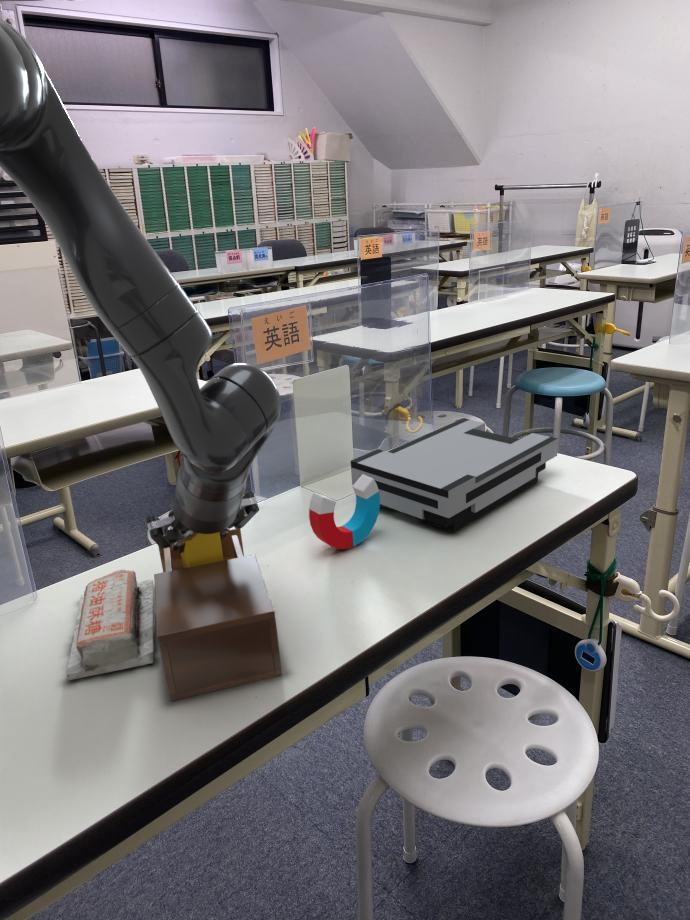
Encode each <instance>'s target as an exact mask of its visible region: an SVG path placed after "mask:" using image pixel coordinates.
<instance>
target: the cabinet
mask: <svg viewBox="0 0 690 920" xmlns="http://www.w3.org/2000/svg"><path fill="white" fill-rule="evenodd" d="M153 578H154V579H153V583H154V590H155V621H156V636H157V641H158V646H159V653H160V657H161V662H162V667H163V672H164V677H165V682H166V687H167V693H168V698H169V702H174V701H178V700H181V699H187V698H191V697H194V696H199V695H202V694H203V695H204V694H207V693H211V692H215V691H219V690H224V689H227V688H232V687H236V686H240V685H244V684H250V683H253V682H257V681H262V680H265V679H269V678H274V677H278V676H282V675H283V670H282V669H283V668H282V661H281V653H280V643H279V635H278V629H277V620H276V619H277V618H276V612H275V609H274V606H273V603H272V599H271V597H270V594H269V591H268V588H267V586H266V582H265V580H264V576H263V574H262V570H261V568H260V565H259V562H258V559H257V557H256V554H251V555H246V556H245V555H244V557H240V558H234V559H229V560H224V561H219V562H214V563H209V564H204V565H199V566H194V567H188V568H183V569H178V570H173V571H168V572H163V571H162V572H158V573H154V574H153Z"/></svg>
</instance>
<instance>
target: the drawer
mask: <svg viewBox="0 0 690 920" xmlns="http://www.w3.org/2000/svg"><path fill="white" fill-rule="evenodd" d="M241 529H242V528H241ZM241 529H235V527H232V528H230V532H229V533H227V535H226V537H225V538H223V539H222V542H221V546H222V553H223V560H229V559H234V558H240V557H245V553H244V545H243V540H242V539H243V538H242V531H241ZM157 547H158V552H159V557H160V563H161V568H162V569H161V570H162V573H163V572H168V571H173V570H178V569H183V564H182V558H181V553H179V554H178V551H173V549H172V546H171V544H170V546H169V547H167V548H160V547H159V546H158V545H157Z"/></svg>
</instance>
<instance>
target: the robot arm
mask: <svg viewBox="0 0 690 920" xmlns="http://www.w3.org/2000/svg"><path fill="white" fill-rule="evenodd" d="M0 169H1V170H3V172H4V173H5V174H6V175H7V176H8V177H9V178H10V179H11V180H12V181H13V182H14V183H15V184H16V186H17V187H18V188H19V189H20V190H21V191H22V193H23V194H24V195H25V196H26V198H27V199H28V200H29V202H30V203H31V205H33V207H34V208H35V210H36V211H37V212H38V214H39V215H40V217H41V219H42V220H43V221H44V223H45V224H46V226H47V228H48V229H49V231H50V233H51V234H52V237H53V238H54V240H55V241H56V243H57V245H58V247H59V249H60V251H61V253H62V255H63V257H64V259H65V261H66V263H67V265H68V266H69V269H70V271H71V273H72V275H73V276H74V278H75V281H76V282H77V284H78V286H79V288H80V289H81V291H82V293H83V295H84V296H85V298H86V300H87V301H88V303H89V304H90V306H91V307H92V309H93V311H94V312H95V313H96V315H97V316H98V318H99V319H100V320H101V322H102V323H103V325H104V326H105V327H106V328H107V329H108V331H109V332H110V333H111V335H112V336H113V337H114V339H115V340H116V341H117V342H118V343H119V344H120V345H121V347H122V349H123V350H124V351H125V352H126V353H127V355H128V356H129V357H130V358H131V359H132V361H133V362H134V364H135V365H136V366H137V367H138V369H139V370H140V373H141V374H142V376H143V378H144V380H145V382H146V383H147V386H148V388H149V390H150V392H151V394H152V396H153V398H154V400H155V403H156V404H157V408H158V410H159V412H160V414H161V416H162V419H163V421H164V424H165V426H166V428H167V431H168V433H169V434H170V437H171V439H172V441H173V443H174V445H175V447H176V448H177V449H178V451H179V452H180V454H181V455H182V457H181V464H180V466H179V468H178V472H177V475H176V481H175V482H176V483H175V488H174V489H175V490H174V496H173V507H172V509H171V510H170V511H169V512H168V515H167V516H166V517H161V516H158V517H157V516H156V515H149V516H147V517H145V522H146V525H147V529H148V533H149V536H150V539H151V540H153V542H154V543H155V544H156V545H157V547H158V546H159V547H160V548H167V547H169V546H170V544H171V546H172V549H173V551H178V554H179V553H183V552H184V547H185V542H186V541H191V540H192V539H193V538H194V537H195V536H196V535H197V534H198V533H200V534H214V533H217V532H219V533H220V539H221V542H222V539H223V538H225V537H226V535H227V533H229V532H230V528H232V527H235V529H242V528H244V527H245V526H246V525H247V524H248V523H249V522H250V521H251V520H252V519H253V517H255V516H256V514H257V513H259V511H260V507H259V504H258V501H257V499H256V495H255V492H254V491H247V492H246V490H247V489H246V488H247V480H248V477H249V474H250V472H251V467H252V464H253V462H254V461H255V459H256V457H257V455H258V454H259V453H260V451H261V450H262V449H263V448H264V445H265V444H266V442H267V441H268V439H269V438H270V436H271V434H272V433H273V431H274V430H275V428H276V426H277V424H278V422H279V419H280V416H281V412H282V403H281V401H282V400H281V394H280V392H279V389H278V386H277V385H276V383H275V381H274V380H273V379H272V377H271V376H270V375H269V374H268V373H267V372H266V371H265V370H264V369H262V368H260V367H259V366H256V365H253V364H250V363H247V362H239V363H238V362H237V363H232V364H229V365H227V366H225V367H223V368H221V369H220V370H219V371H218V372H216V373H215V374H214V375H213V376H212V377H211V378H210V379H209V380H208V381H206V383H205V384H204V385H202V386H201V387H200V384H199V381H198V368H199V366H200V363H201V361H202V360H203V358H204V357H205V355H206V354H207V352H208V351H209V348H210V347H211V344H212V342H213V333H212V329H211V327H210V326H209V324H208V323H207V321H206V319H205V318H204V316H203V315H202V313H201V312H200V311H199V310H198V308H197V306H196V305H195V304H194V302H193V301H192V300H191V298H190V297H189V296H188V294H187V293H186V291H185V290H184V289H183V287H182V286H181V285H180V283H179V281H178V280H177V279H176V277H175V276H174V275H173V274H172V272H171V270H169V268H168V266H166V264H165V263H164V261H163V260H162V259H161V257H160V256H159V255H158V253H157V251H156V250H155V249H154V248H153V246H152V245H151V243H150V242H149V241H148V239H147V238H146V237H145V235H144V234H143V233H142V231H141V229H140V228H139V227H138V225H137V224H136V222H134V220H133V218H132V217H131V216H130V214H129V213H128V212H127V210H126V209H125V207H124V206H123V204H122V203H121V201H120V199H119V198H118V197H117V195H116V194H115V192H114V191H113V189H112V187H111V186H110V185H109V183H108V181H107V180H106V178H105V177H104V175H103V173H102V172H101V170H100V169H99V166H98V165H97V163H96V162H95V160H94V159H93V157H92V155H91V154H90V152H89V150H88V148H87V147H86V145H85V143H84V141H83V140H82V138H81V136H80V134H79V133H78V130H77V129H76V127H75V125H74V123H73V121H72V120H71V117H70V116H69V114H68V112H67V110H66V107H65V106H64V104H63V102H62V100H61V98H60V96H59V94H58V92H57V90H56V89H55V87H54V85H53V83H52V81H51V79H50V77H49V75H48V73H47V71H46V69H45V67H44V66H43V63H42V62H41V60H40V58H39V57H38V55H37V52H36V51H35V49H34V48H33V46H32V45H31V43H30V42H29V41H28V40H27V38H26V37H25V36H24V35H23V34H22V33H21V32H20V31H19V30H17V29H16V28H15V27H14V26H13V25H12V24H11V23H9V22H7V21H6V20H4V19H2V18H0ZM159 547H158V548H159Z"/></svg>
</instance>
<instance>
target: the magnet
mask: <svg viewBox="0 0 690 920" xmlns="http://www.w3.org/2000/svg"><path fill="white" fill-rule="evenodd" d="M351 487H352V490H353V492H354V494H355V503H356V504H355V508H354V511H353V513H352V516H351V518H349V520H348V521H346V522H345V523H344V524H343V525H340V526H337V525H336V522H335V509H336V504H337V501H336V500H335V499H332V498H330V497H329V496H327V495H323V494H320V493H318V492H312V495H311V498H310V501H309V508H308V520H309V525H310V527H311V530H312V532H313V534H314V535H315V537H316V538H317V539H318V540H319V541H321V542H322V543H324V544H326V545H328V546H330V547H331V548H334V549H337V550H347V549H351V548H354V547H356V546H357V545H360V544H361V543H362V542H363V541H364V540H365V539H367V537H368V536H369V535H370V534H371V532H372V531H373V529H374V527H375V525H376V523H377V521H378V517H379V514H380V509H381V506H380V495H379V490H378V487H377V484H376V482H375V481H374V479H373V478H371V477H368V476H366V475H364V474H362V475H361V477H360V478H359V479H358V480H357V481H356V482H355V484H354V485H351Z"/></svg>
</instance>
